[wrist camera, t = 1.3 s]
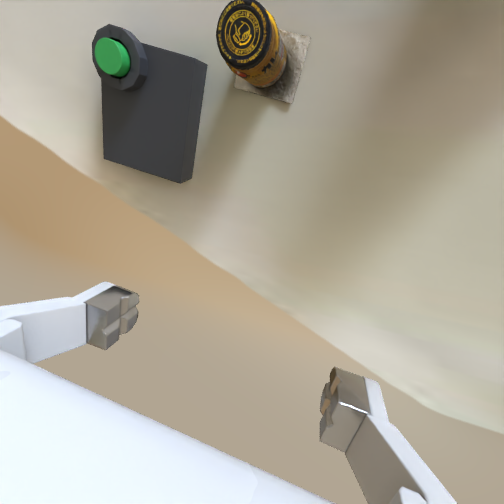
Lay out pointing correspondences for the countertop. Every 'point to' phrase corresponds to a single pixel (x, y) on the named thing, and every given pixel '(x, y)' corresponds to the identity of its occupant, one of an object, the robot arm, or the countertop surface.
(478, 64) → the countertop surface
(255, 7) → the condiment
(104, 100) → the control panel
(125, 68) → the small green piece
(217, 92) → the countertop surface
